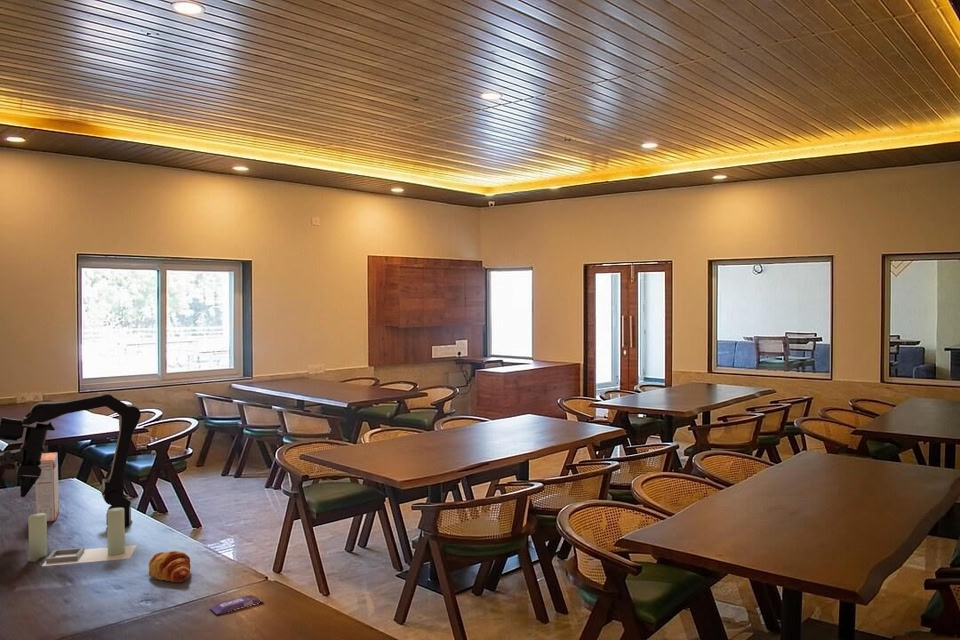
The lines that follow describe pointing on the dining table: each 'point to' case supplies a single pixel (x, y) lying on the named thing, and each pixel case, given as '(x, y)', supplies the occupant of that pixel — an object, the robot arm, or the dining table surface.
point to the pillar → (37, 536)
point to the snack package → (234, 604)
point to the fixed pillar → (115, 531)
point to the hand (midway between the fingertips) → (22, 493)
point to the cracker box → (48, 487)
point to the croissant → (170, 566)
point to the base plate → (85, 555)
